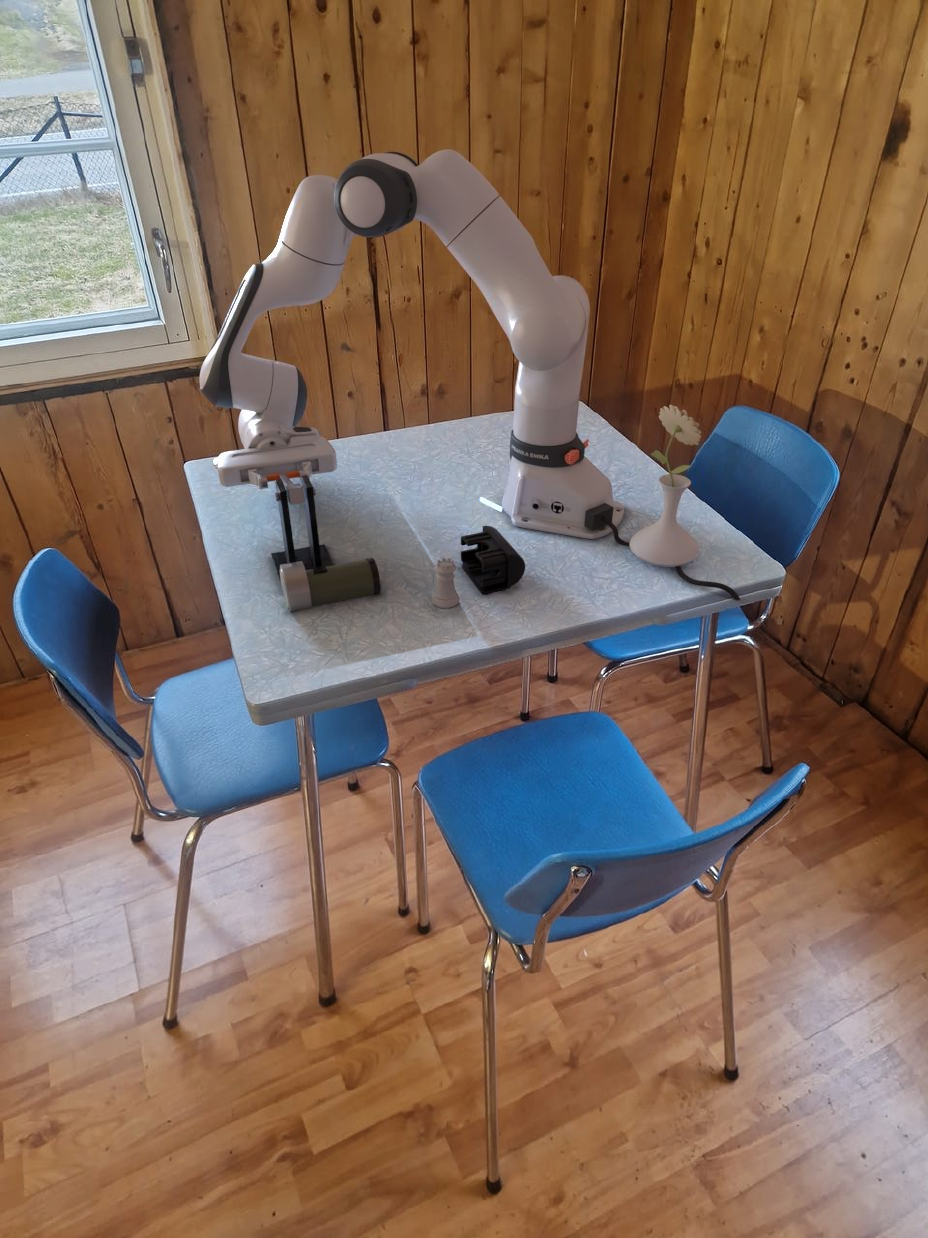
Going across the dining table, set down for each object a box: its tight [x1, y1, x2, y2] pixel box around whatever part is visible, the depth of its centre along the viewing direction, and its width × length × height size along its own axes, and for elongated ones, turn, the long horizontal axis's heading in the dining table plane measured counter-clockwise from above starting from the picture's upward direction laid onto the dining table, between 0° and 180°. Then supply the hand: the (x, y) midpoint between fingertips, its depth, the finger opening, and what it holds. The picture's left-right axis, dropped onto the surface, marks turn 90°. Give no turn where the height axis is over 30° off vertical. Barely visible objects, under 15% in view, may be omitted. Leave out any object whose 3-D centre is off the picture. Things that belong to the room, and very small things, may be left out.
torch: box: [280, 556, 382, 613], centre depth 126 cm, size 14×7×7 cm, turn 110°
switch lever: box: [266, 471, 305, 505], centre depth 133 cm, size 16×6×2 cm, turn 20°
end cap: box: [460, 525, 526, 596], centre depth 132 cm, size 10×7×7 cm
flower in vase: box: [628, 404, 702, 568], centre depth 133 cm, size 13×11×25 cm
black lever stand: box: [270, 475, 334, 587], centre depth 131 cm, size 11×9×16 cm
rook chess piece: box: [431, 557, 461, 609], centre depth 125 cm, size 4×4×8 cm
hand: (284, 481), depth 138 cm, fingers closed on switch lever, 5 cm apart
